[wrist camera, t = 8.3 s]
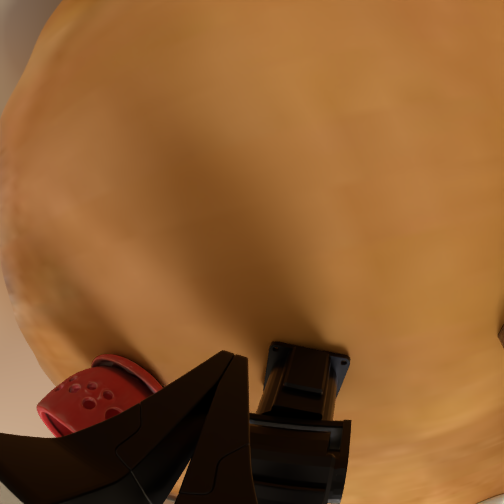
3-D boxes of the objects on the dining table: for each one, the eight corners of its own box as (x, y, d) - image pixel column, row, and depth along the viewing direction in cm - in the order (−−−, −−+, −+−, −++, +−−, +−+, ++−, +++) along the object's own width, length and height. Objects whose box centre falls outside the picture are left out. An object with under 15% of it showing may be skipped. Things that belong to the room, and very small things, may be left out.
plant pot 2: (133, 333, 29) (60, 414, 18) (201, 418, 32) (157, 499, 21) (77, 347, 34) (20, 404, 24) (135, 416, 37) (93, 475, 27)
